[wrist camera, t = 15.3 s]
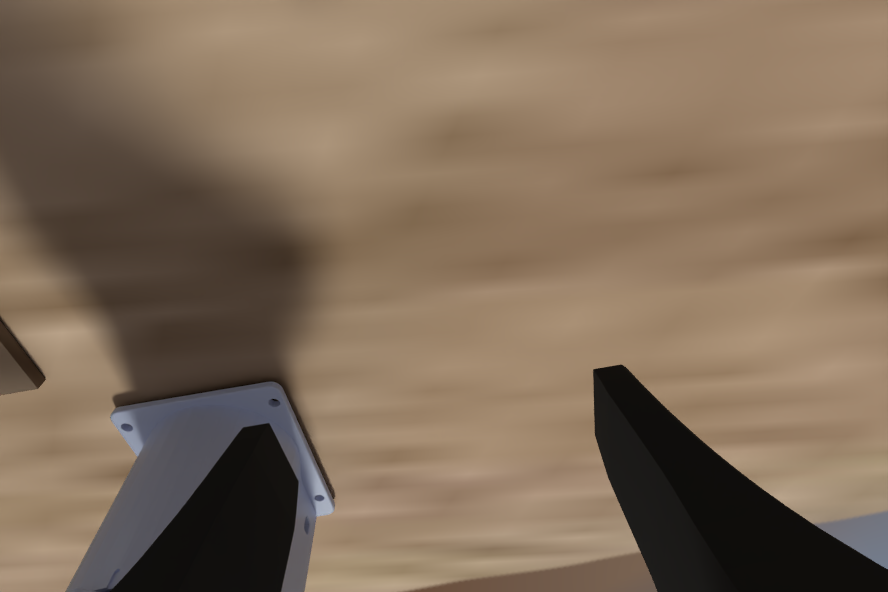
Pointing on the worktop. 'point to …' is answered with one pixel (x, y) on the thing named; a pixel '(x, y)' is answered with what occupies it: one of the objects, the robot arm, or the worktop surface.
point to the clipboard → (16, 366)
